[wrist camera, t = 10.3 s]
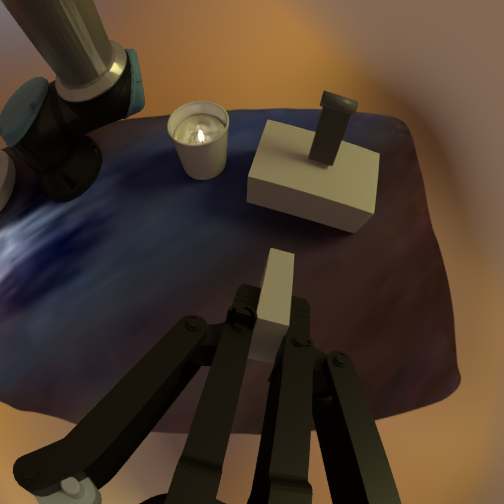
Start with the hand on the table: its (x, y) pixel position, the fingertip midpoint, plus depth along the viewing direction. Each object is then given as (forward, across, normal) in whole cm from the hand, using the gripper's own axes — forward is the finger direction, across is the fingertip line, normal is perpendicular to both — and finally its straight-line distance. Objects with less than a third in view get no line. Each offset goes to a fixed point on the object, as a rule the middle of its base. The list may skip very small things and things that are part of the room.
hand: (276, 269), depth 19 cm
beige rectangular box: (+38, +4, -5) cm, 39 cm away
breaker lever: (+32, +4, +2) cm, 32 cm away
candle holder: (+39, -16, -5) cm, 42 cm away
